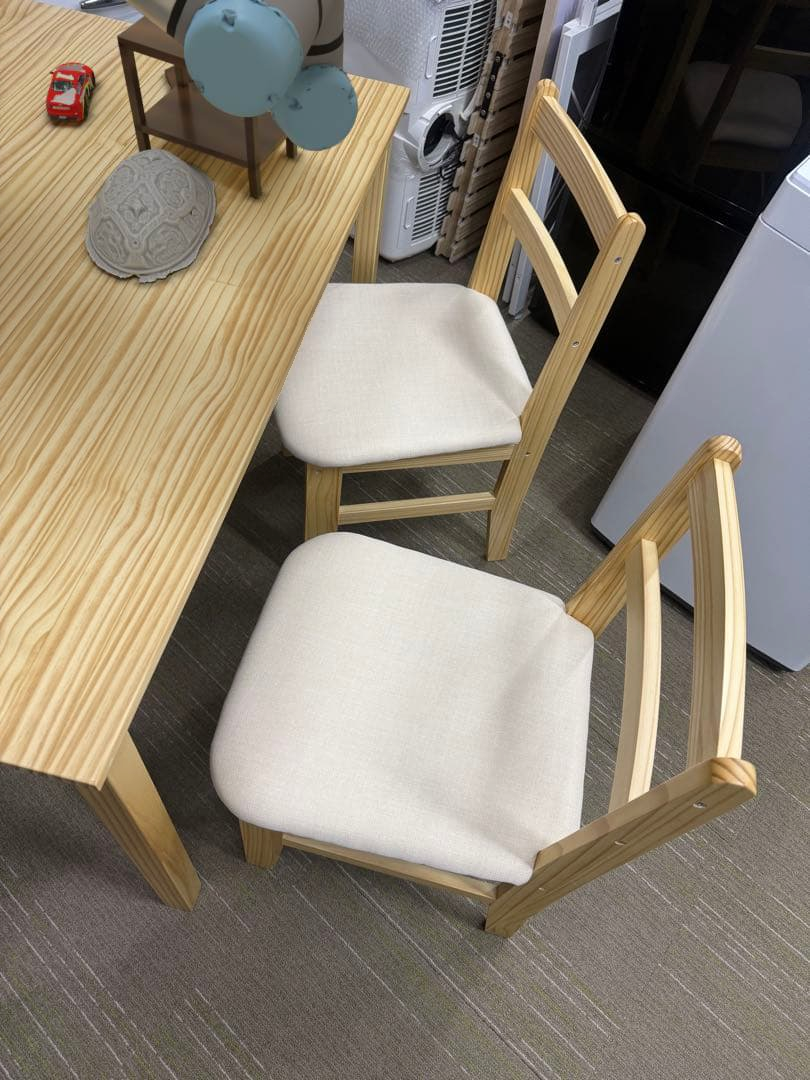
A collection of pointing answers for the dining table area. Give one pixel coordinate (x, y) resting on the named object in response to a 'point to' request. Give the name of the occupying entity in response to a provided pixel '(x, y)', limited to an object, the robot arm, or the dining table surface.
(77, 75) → the race car
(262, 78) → the robot arm
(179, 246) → the grey domed shell
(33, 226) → the dining table surface
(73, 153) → the dining table surface
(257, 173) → the rack
